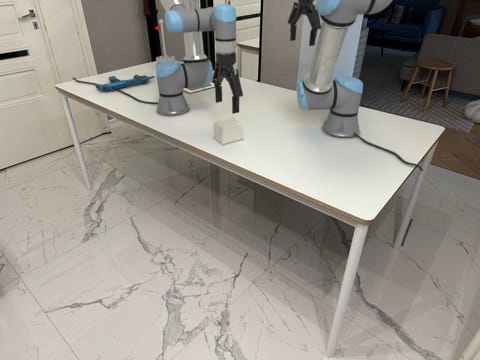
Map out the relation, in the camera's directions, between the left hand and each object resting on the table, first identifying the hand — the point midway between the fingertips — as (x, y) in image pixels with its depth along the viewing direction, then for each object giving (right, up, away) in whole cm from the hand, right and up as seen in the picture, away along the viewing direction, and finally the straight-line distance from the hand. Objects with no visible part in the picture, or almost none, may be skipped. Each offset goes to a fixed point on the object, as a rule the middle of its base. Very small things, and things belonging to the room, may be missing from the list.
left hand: (227, 107), depth 136 cm
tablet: (-26, +30, +71) cm, 81 cm away
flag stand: (-47, +53, +106) cm, 128 cm away
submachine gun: (-65, +30, +71) cm, 101 cm away
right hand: (+34, +34, +21) cm, 53 cm away
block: (0, -12, +8) cm, 14 cm away
